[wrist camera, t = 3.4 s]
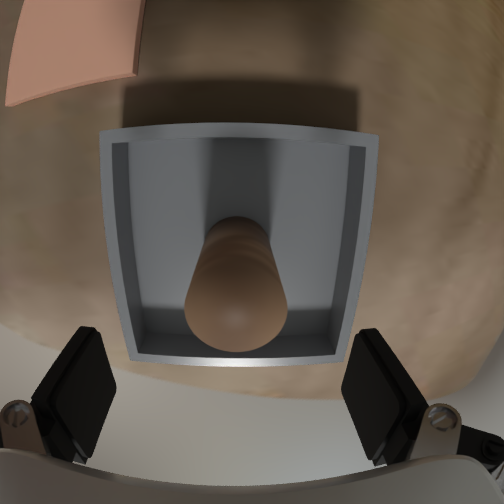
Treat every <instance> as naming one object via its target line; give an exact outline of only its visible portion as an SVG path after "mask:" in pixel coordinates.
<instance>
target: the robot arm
mask: <svg viewBox="0 0 504 504" xmlns="http://www.w3.org/2000/svg"><path fill="white" fill-rule="evenodd" d="M341 391H342V395H343V398H344V400H345V403H346V405H347V407H348V410H349V413H350V415H351V418H352V420H353V422H354V425H355V428H356V430H357V433H358V436H359V438H360V440H361V443H362V446H363V448H364V451H365V454H366V456H367V458H368V460H372V461H373V464H374V466H378V465H382V464H387V466H384V467H380V468H376V469H372V470H368V471H363V472H358V473H354V474H349V475H344V476H339V477H333V478H327V479H321V480H314V481H307V482H298V483H288V484H276V485H260V486H206V485H190V484H179V483H169V482H161V481H153V480H147V479H140V478H134V477H129V476H124V475H119V474H114V473H110V472H105V471H101V470H97V469H92V468H89V467H85V466H81V465H78V464H74V463H72V462H73V461H75V462H79V463H82V464H86V462H87V459H88V458H91V457H92V454H93V452H94V449H95V446H96V443H97V441H98V438H99V435H100V432H101V430H102V427H103V424H104V422H105V419H106V416H107V414H108V411H109V408H110V406H111V403H112V401H113V398H114V396H115V393H116V382H115V380H114V377H113V374H112V370H111V367H110V364H109V361H108V358H107V354H106V351H105V348H104V344H103V341H102V337H101V334H100V332H97V330H96V329H95V328H94V327H85V326H80V327H79V328H78V330H77V331H76V332H75V334H74V335H73V336H72V338H71V339H70V341H69V342H68V343H67V345H66V346H65V348H64V349H63V350H62V352H61V353H60V355H59V356H58V358H57V359H56V360H55V362H54V363H53V365H52V366H51V368H50V369H49V371H48V372H47V374H46V375H45V377H44V378H43V380H42V381H41V383H40V384H39V386H38V387H37V389H36V390H35V392H34V394H33V395H32V397H31V399H32V401H31V403H30V404H29V403H28V402H26V401H24V400H14V401H11V402H9V403H7V404H6V405H5V406H4V407H3V409H2V410H1V412H0V504H504V440H503V439H502V438H501V437H499V436H497V435H494V434H491V433H487V432H484V431H481V430H477V429H474V428H471V427H468V426H464V425H461V424H462V423H461V416H460V414H459V413H458V411H457V410H456V409H454V408H453V407H451V406H450V405H447V404H441V403H438V404H434V405H431V406H430V407H429V405H428V404H427V402H426V400H425V398H424V397H423V395H422V394H421V392H420V391H419V389H418V388H417V386H416V385H415V383H414V382H413V380H412V379H411V377H410V376H409V374H408V373H407V371H406V370H405V368H404V367H403V365H402V364H401V363H400V361H399V360H398V358H397V357H396V355H395V354H394V352H393V351H392V350H391V348H390V347H389V345H388V344H387V343H386V341H385V340H384V338H383V337H382V335H381V334H380V333H379V331H378V330H377V329H376V328H371V329H362V330H360V332H359V333H358V334H356V335H355V337H354V342H353V346H352V349H351V353H350V357H349V361H348V365H347V368H346V372H345V375H344V379H343V382H342V386H341Z"/></svg>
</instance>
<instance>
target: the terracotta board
mask: <svg viewBox="0 0 504 504" xmlns="http://www.w3.org/2000/svg"><path fill="white" fill-rule="evenodd" d="M145 3H146V0H25V1H24V4H23V7H22V11H21V14H20V18H19V22H18V26H17V30H16V34H15V39H14V44H13V49H12V54H11V60H10V66H9V73H8V81H7V90H6V102H5V106H15V105H18V104H20V103H23V102H26V101H29V100H32V99H35V98H38V97H42V96H45V95H48V94H52V93H55V92H59V91H63V90H67V89H71V88H75V87H79V86H83V85H88V84H92V83H97V82H102V81H107V80H113V79H119V78H125V77H132V76H137V71H138V59H139V48H140V39H141V31H142V23H143V16H144V9H145Z"/></svg>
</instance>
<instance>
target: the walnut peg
mask: <svg viewBox="0 0 504 504" xmlns="http://www.w3.org/2000/svg"><path fill="white" fill-rule="evenodd" d="M287 310H288V306H287V300H286V296H285V293H284V289H283V286H282V283H281V279H280V276H279V273H278V269H277V266H276V263H275V259H274V256H273V253H272V249H271V246H270V243H269V239H268V236H267V234H266V232H265V231H264V229H263V228H262V227H261V226H260V225H259V224H258V223H257V222H255V221H253V220H251V219H249V218H246V217H241V216H232V217H227V218H224V219H222V220H220V221H219V222H217V223H216V224H214V225H213V226H212V227H211V229H210V230H209V231H208V233H207V235H206V238H205V241H204V244H203V247H202V250H201V252H200V255H199V258H198V261H197V264H196V267H195V270H194V273H193V276H192V279H191V283H190V286H189V289H188V292H187V295H186V298H185V304H184V312H185V317H186V320H187V323H188V325H189V327H190V329H191V330H192V332H193V333H194V334H195V335H196V336H197V337H198V338H199V339H200V340H201V341H203V342H204V343H206V344H207V345H209V346H211V347H214V348H216V349H219V350H223V351H228V352H244V351H250V350H254V349H257V348H259V347H261V346H263V345H265V344H267V343H268V342H270V341H271V340H272V339H273V338H275V337H276V336H277V334H278V333H279V332H280V331H281V329H282V327H283V325H284V324H285V321H286V318H287Z"/></svg>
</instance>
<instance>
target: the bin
mask: <svg viewBox="0 0 504 504" xmlns="http://www.w3.org/2000/svg"><path fill="white" fill-rule="evenodd" d="M378 144H379V135H374V134H367V133H361V132H354V131H346V130H338V129H330V128H321V127H310V126H298V125H284V124H266V123H184V124H165V125H151V126H140V127H130V128H121V129H112V130H105V131H100V173H101V191H102V204H103V215H104V225H105V234H106V242H107V249H108V256H109V263H110V270H111V276H112V281H113V287H114V292H115V298H116V303H117V308H118V312H119V317H120V321H121V326H122V330H123V334H124V338H125V342H126V346H127V350H128V354H129V358H130V360H132V361H141V362H152V363H164V364H178V365H197V366H235V367H252V366H290V365H309V364H324V363H336V362H343V360H344V357H345V353H346V349H347V345H348V341H349V337H350V333H351V329H352V325H353V320H354V316H355V311H356V307H357V302H358V297H359V292H360V287H361V282H362V277H363V271H364V266H365V260H366V254H367V248H368V241H369V234H370V227H371V220H372V212H373V203H374V194H375V184H376V173H377V160H378ZM232 216H241V217H246V218H249V219H251V220H253V221H255V222H257V223H258V224H259V225H260V226H261V227H262V228H263V229H264V231H265V232H266V234H267V236H268V239H269V243H270V246H271V249H272V253H273V256H274V259H275V263H276V266H277V269H278V273H279V276H280V279H281V283H282V286H283V289H284V293H285V296H286V300H287V306H288V310H287V318H286V321H285V324H284V325H283V327H282V329H281V331H280V332H279V333H278V334H277V336H276V337H275V338H273V339H272V340H271V341H270V342H268V343H267V344H265V345H263V346H261V347H259V348H257V349H254V350H250V351H244V352H228V351H223V350H219V349H216V348H214V347H211V346H209V345H207V344H206V343H204V342H203V341H201V340H200V339H199V338H198V337H197V336H196V335H195V334H194V333H193V332H192V330H191V329H190V327H189V325H188V323H187V320H186V317H185V312H184V304H185V298H186V295H187V292H188V289H189V286H190V283H191V279H192V276H193V273H194V270H195V267H196V264H197V261H198V258H199V255H200V252H201V250H202V247H203V244H204V241H205V238H206V235H207V233H208V231H209V230H210V229H211V227H212V226H213V225H214V224H216V223H217V222H219V221H220V220H222V219H224V218H227V217H232Z"/></svg>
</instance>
